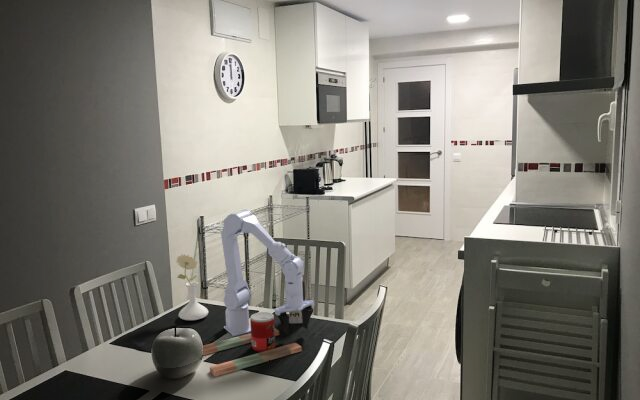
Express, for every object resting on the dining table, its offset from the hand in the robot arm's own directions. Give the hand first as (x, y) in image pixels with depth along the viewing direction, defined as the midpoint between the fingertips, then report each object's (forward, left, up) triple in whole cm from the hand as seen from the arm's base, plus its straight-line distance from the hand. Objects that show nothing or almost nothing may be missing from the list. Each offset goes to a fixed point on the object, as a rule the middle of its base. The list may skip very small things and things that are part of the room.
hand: (295, 330), depth 181 cm
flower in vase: (-41, -24, -3) cm, 47 cm away
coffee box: (-15, +9, -3) cm, 18 cm away
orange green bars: (0, -19, -3) cm, 19 cm away
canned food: (0, -13, -3) cm, 13 cm away
